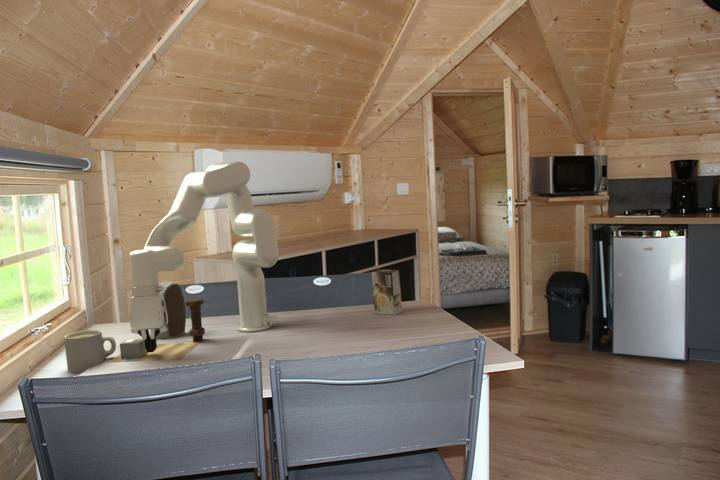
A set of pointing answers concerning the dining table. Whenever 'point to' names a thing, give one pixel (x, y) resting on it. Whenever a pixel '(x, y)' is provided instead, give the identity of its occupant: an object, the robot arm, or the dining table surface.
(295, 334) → the dining table surface
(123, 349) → the grey block
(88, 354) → the coffee mug
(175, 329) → the small grey backpack
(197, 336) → the bolt
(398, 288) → the coffee box
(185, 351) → the yellow striped flat sheet
